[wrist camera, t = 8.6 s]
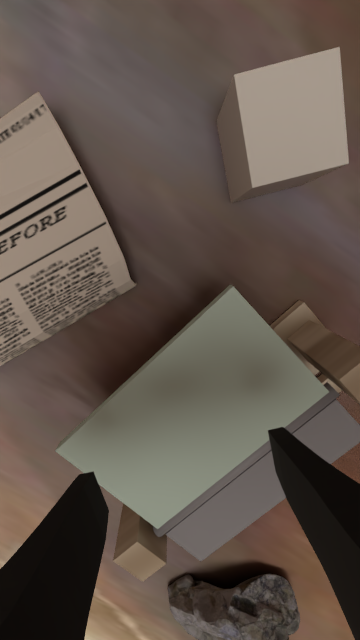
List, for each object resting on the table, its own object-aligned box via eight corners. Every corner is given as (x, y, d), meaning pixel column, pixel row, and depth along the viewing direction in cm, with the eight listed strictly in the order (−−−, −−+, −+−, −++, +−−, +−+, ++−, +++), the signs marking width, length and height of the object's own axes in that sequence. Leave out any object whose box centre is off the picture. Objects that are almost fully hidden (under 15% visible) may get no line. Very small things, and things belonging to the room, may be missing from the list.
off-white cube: (292, 102, 17) (339, 46, 13) (301, 185, 19) (348, 163, 14) (216, 122, 18) (234, 74, 13) (230, 203, 19) (252, 188, 14)
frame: (357, 368, 22) (444, 425, 15) (177, 512, 25) (180, 616, 18) (298, 300, 20) (365, 327, 14) (113, 462, 23) (90, 554, 16)
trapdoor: (333, 395, 20) (374, 433, 16) (192, 508, 22) (197, 566, 18) (222, 273, 18) (238, 282, 13) (75, 412, 20) (51, 455, 16)
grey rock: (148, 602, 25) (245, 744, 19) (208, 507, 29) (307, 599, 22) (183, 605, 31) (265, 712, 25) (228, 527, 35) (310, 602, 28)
